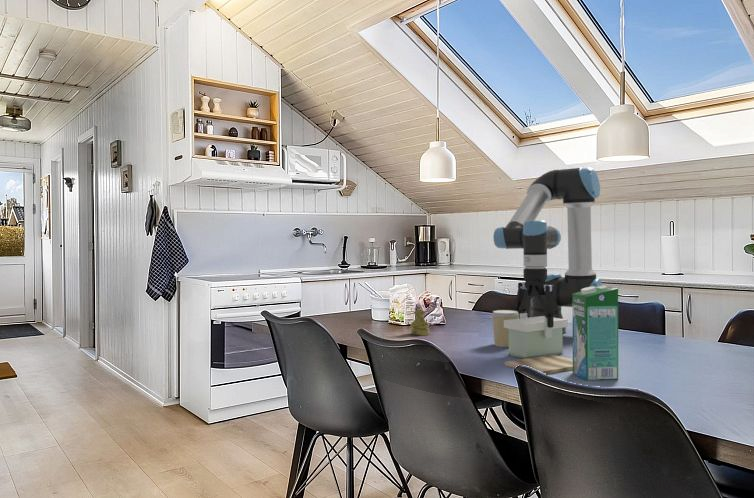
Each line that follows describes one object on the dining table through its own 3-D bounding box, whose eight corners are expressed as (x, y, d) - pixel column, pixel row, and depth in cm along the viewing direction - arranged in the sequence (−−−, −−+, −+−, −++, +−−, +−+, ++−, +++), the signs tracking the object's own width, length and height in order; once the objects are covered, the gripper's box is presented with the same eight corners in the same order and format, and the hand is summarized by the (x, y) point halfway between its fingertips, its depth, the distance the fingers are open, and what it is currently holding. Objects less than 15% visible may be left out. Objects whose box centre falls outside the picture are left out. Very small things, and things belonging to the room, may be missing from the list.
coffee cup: (519, 347, 204) (519, 313, 204) (492, 347, 206) (491, 313, 206) (518, 343, 213) (518, 310, 213) (492, 342, 215) (492, 309, 215)
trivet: (552, 357, 187) (552, 354, 187) (590, 366, 174) (590, 363, 174) (504, 365, 177) (504, 362, 177) (540, 375, 164) (540, 371, 164)
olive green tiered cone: (433, 334, 234) (432, 309, 234) (418, 336, 230) (418, 311, 229) (421, 332, 240) (421, 307, 240) (406, 334, 236) (406, 309, 235)
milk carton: (572, 372, 167) (572, 285, 166) (603, 371, 168) (602, 284, 167) (586, 380, 158) (586, 288, 157) (618, 379, 159) (618, 287, 158)
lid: (544, 324, 201) (544, 315, 201) (567, 328, 192) (567, 319, 192) (503, 329, 192) (503, 320, 192) (526, 333, 183) (526, 324, 183)
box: (544, 350, 200) (544, 323, 200) (562, 354, 193) (562, 326, 193) (508, 355, 192) (508, 327, 192) (526, 359, 185) (525, 331, 185)
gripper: (502, 266, 200) (503, 331, 200) (553, 269, 180) (553, 341, 180) (519, 265, 204) (519, 329, 204) (570, 268, 183) (571, 339, 184)
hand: (535, 334), depth 192 cm, fingers closed on lid, 10 cm apart
